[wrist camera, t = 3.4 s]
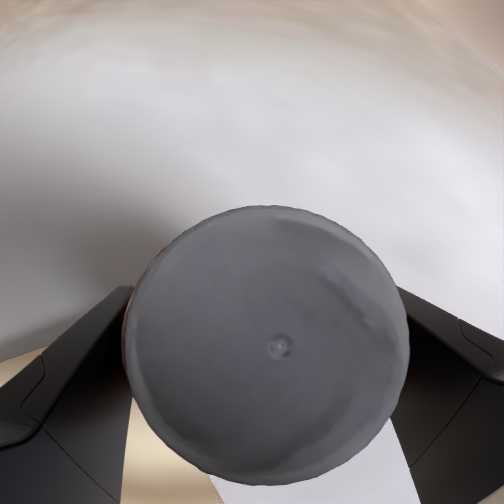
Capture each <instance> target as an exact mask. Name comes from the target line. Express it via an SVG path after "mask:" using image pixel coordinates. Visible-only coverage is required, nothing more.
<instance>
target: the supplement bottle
mask: <svg viewBox="0 0 504 504" xmlns="http://www.w3.org/2000/svg"><path fill="white" fill-rule="evenodd" d="M121 350H122V363H123V367H124V370H125V374H126V379H127V382H128V385H129V388H130V390H131V393H132V397H133V398H134V400H135V401H136V403H137V405H138V408H139V409H140V411H141V413H142V415H143V417H144V418H145V420H146V422H147V424H148V426H149V427H150V428H151V429H152V431H153V432H154V433H155V434H156V435H157V436H158V437H159V438H160V439H161V440H162V441H163V442H164V443H165V445H166V446H167V447H168V448H170V449H171V450H172V451H174V452H175V453H176V454H177V455H178V456H180V457H181V458H183V459H184V460H185V461H187V462H188V463H190V464H192V465H194V466H196V467H197V468H198V469H199V470H200V471H201V472H204V473H206V474H210V475H214V476H217V477H220V478H222V479H225V480H227V481H231V482H235V483H240V484H245V485H251V486H256V485H266V486H274V485H287V484H291V483H295V482H299V481H304V480H309V479H312V478H316V477H318V476H320V475H322V474H324V473H326V472H328V471H330V470H332V469H334V468H336V467H338V466H340V465H342V464H344V463H345V462H347V461H348V460H350V459H351V458H352V457H353V456H355V455H356V454H357V453H359V452H360V451H361V450H363V449H364V448H365V447H366V446H367V445H368V444H369V443H370V442H371V440H372V439H373V438H374V437H375V436H376V435H377V434H378V433H379V432H380V431H381V429H382V427H383V426H384V424H385V423H386V421H387V420H388V419H389V417H390V416H391V414H392V413H393V411H394V409H395V407H396V405H397V403H398V399H399V396H400V392H401V390H402V388H403V385H404V382H405V378H406V374H407V369H408V364H409V357H410V345H409V329H408V324H407V316H406V311H405V308H404V305H403V301H402V299H401V297H400V294H399V291H398V289H397V287H396V285H395V283H394V281H393V279H392V277H391V275H390V273H389V272H388V270H387V269H386V267H385V266H384V264H383V263H382V261H381V260H380V259H379V258H378V256H377V255H376V254H375V253H374V252H373V251H372V250H371V249H370V248H369V247H368V246H367V245H366V244H365V243H364V242H363V241H362V240H361V239H360V238H359V237H357V236H356V235H354V234H353V233H351V232H350V231H349V230H347V229H346V228H345V227H343V226H341V225H339V224H337V223H336V222H334V221H331V220H329V219H327V218H325V217H324V216H321V215H318V214H314V213H312V212H309V211H306V210H302V209H295V208H291V207H285V206H277V205H272V206H246V207H241V208H237V209H232V210H229V211H226V212H223V213H220V214H218V215H215V216H212V217H210V218H207V219H205V220H203V221H201V222H200V223H198V224H197V225H195V226H193V227H192V228H190V229H188V230H186V231H184V232H183V233H182V234H181V235H180V236H178V237H177V238H176V239H174V240H173V241H172V242H171V243H170V244H169V245H168V246H166V247H165V248H164V249H163V250H162V251H161V252H160V253H159V255H157V256H156V257H155V258H154V260H153V261H152V262H150V264H149V265H148V267H147V269H146V270H145V272H144V274H143V275H142V276H141V278H140V280H139V282H138V283H137V285H136V287H135V288H134V290H133V292H132V294H131V297H130V299H129V302H128V305H127V309H126V312H125V313H124V320H123V325H122V332H121Z"/></svg>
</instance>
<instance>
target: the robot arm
mask: <svg viewBox="0 0 504 504" xmlns="http://www.w3.org/2000/svg"><path fill="white" fill-rule="evenodd" d="M396 287H397V289H398V291H399V294H400V297H401V299H402V301H403V305H404V308H405V311H406V316H407V324H408V329H409V345H410V357H409V364H408V369H407V374H406V378H405V382H404V385H403V388H402V390H401V392H400V396H399V399H398V403H397V405H396V407H395V409H394V411H393V413H392V414H391V416H390V419H391V421H392V424H393V426H394V429H395V432H396V434H397V437H398V440H399V442H400V445H401V448H402V450H403V453H404V456H405V459H406V461H407V464H408V467H409V468H410V473H411V476H412V479H413V482H414V485H415V488H416V491H417V494H418V497H419V500H420V503H421V504H504V340H501V339H499V338H497V337H495V336H493V335H491V334H489V333H487V332H484V331H482V330H481V329H479V328H477V327H475V326H473V325H471V324H469V323H467V322H465V321H463V320H462V319H458V317H456V316H454V315H452V314H450V313H448V312H446V311H444V310H443V309H441V308H439V307H437V306H435V305H433V304H431V303H429V302H427V301H425V300H423V299H421V298H420V297H418V296H416V295H414V294H412V293H410V292H408V291H406V290H404V289H402V288H400V287H398V286H396ZM134 288H135V287H134V286H120V287H118V288H117V289H116V290H114V291H113V292H112V293H111V294H110V295H108V296H107V297H106V298H105V299H103V300H102V301H101V302H100V303H99V304H97V305H96V306H95V307H94V308H93V309H91V310H90V311H89V312H88V313H87V314H85V315H84V316H83V317H82V318H81V319H79V320H78V321H77V322H76V323H75V324H74V325H72V326H71V327H70V328H69V329H68V330H67V331H65V332H64V333H63V334H62V335H61V336H60V337H58V338H57V339H56V340H55V341H54V342H53V343H52V344H50V345H49V346H48V347H47V348H46V349H45V350H44V351H43V352H42V353H41V355H40V354H39V355H38V356H37V357H36V358H35V359H34V360H32V361H31V362H30V363H29V364H28V365H27V366H26V367H24V368H23V369H22V370H21V371H20V372H19V373H17V374H16V375H15V376H14V377H12V378H11V379H10V380H9V381H7V382H6V383H5V384H4V385H2V386H1V387H0V504H120V503H121V490H122V478H123V468H124V458H125V450H126V441H127V433H128V426H129V418H130V411H131V405H132V398H133V397H132V393H131V390H130V388H129V385H128V382H127V379H126V374H125V370H124V367H123V363H122V350H121V332H122V325H123V320H124V313H125V312H126V309H127V305H128V302H129V299H130V297H131V294H132V292H133V290H134Z"/></svg>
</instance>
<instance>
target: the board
mask: <svg viewBox="0 0 504 504" xmlns="http://www.w3.org/2000/svg"><path fill="white" fill-rule="evenodd" d="M48 346H49V345H48ZM48 346H45V347H42V348H39V349H37V350H34V351H31V352H28V353H25V354H23V355H20V356H17V357H14V358H11V359H9V360H6V361H3V362H0V387H1V386H2V385H4V384H5V383H6V382H7V381H9V380H10V379H11V378H12V377H14V376H15V375H16V374H17V373H19V372H20V371H21V370H22V369H23V368H24V367H26V366H27V365H28V364H29V363H30V362H31V361H32V360H34V359H35V358H36V357H37V356H38V355H39V354H40V355H41V353H42V352H43V351H44V350H45V349H46V348H47V347H48ZM120 504H224V503H223V501H222V499H221V498H220V496H219V494H218V492H217V491H216V489H215V487H214V485H213V483H212V482H211V480H210V478H209V476H208V474H206V473H204V472H201V471H200V470H199V469H198V468H197V467H196V466H194V465H192V464H190V463H188V462H187V461H185V460H184V459H183V458H181V457H180V456H178V455H177V454H176V453H175V452H174V451H172V450H171V449H170V448H168V447H167V446H166V445H165V443H164V442H163V441H162V440H161V439H160V438H159V437H158V436H157V435H156V434H155V433H154V432H153V431H152V429H151V428H150V427H149V426H148V424H147V422H146V420H145V418H144V417H143V415H142V413H141V411H140V409H139V408H138V405H137V403H136V401H135V400H134V398H132V405H131V411H130V418H129V426H128V433H127V441H126V450H125V458H124V468H123V478H122V490H121V503H120Z"/></svg>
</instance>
